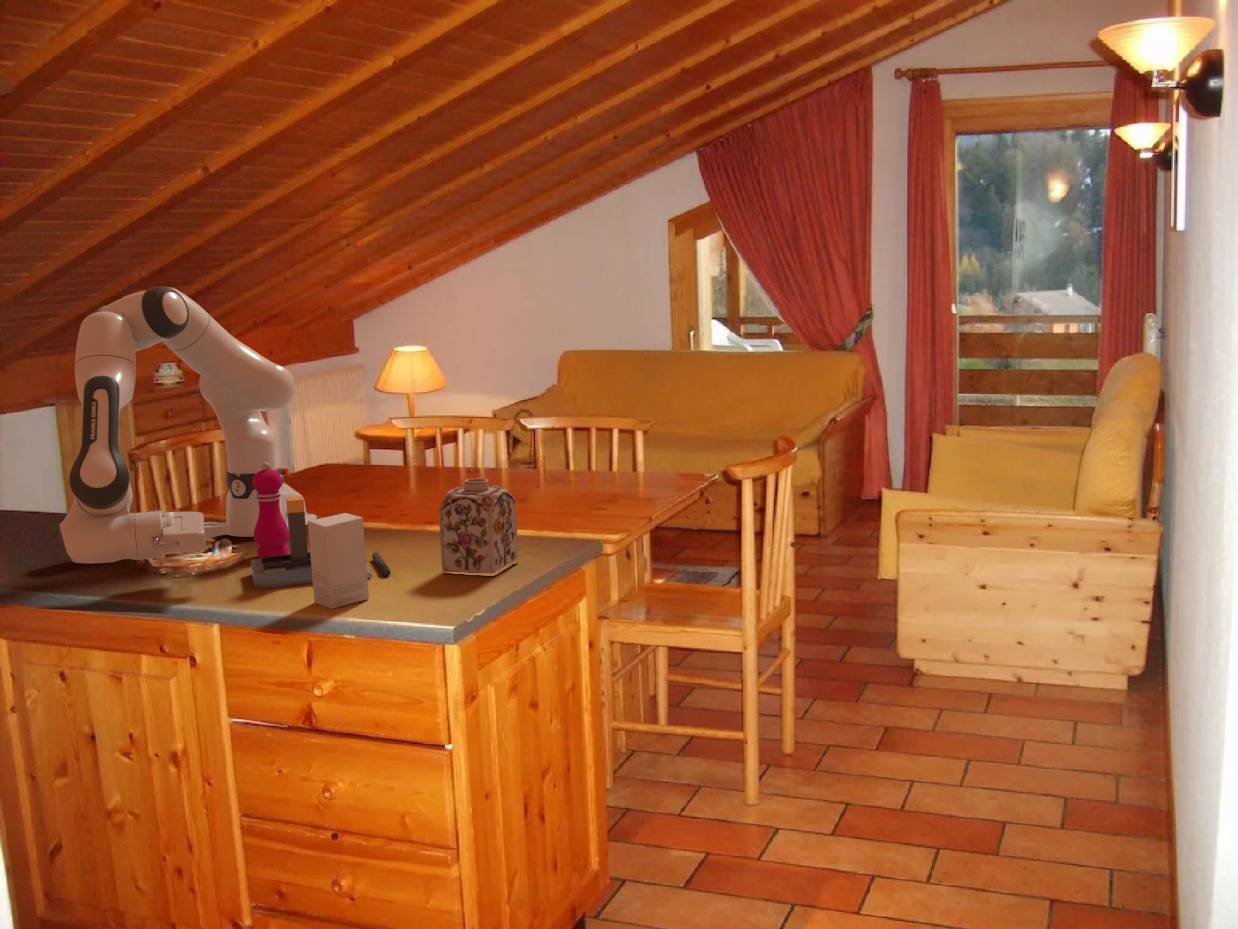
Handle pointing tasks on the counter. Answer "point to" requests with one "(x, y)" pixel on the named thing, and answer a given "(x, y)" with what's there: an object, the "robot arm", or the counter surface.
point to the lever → (297, 528)
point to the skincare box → (338, 560)
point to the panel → (280, 571)
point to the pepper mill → (269, 514)
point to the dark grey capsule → (379, 565)
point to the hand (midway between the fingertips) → (230, 528)
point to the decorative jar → (478, 528)
